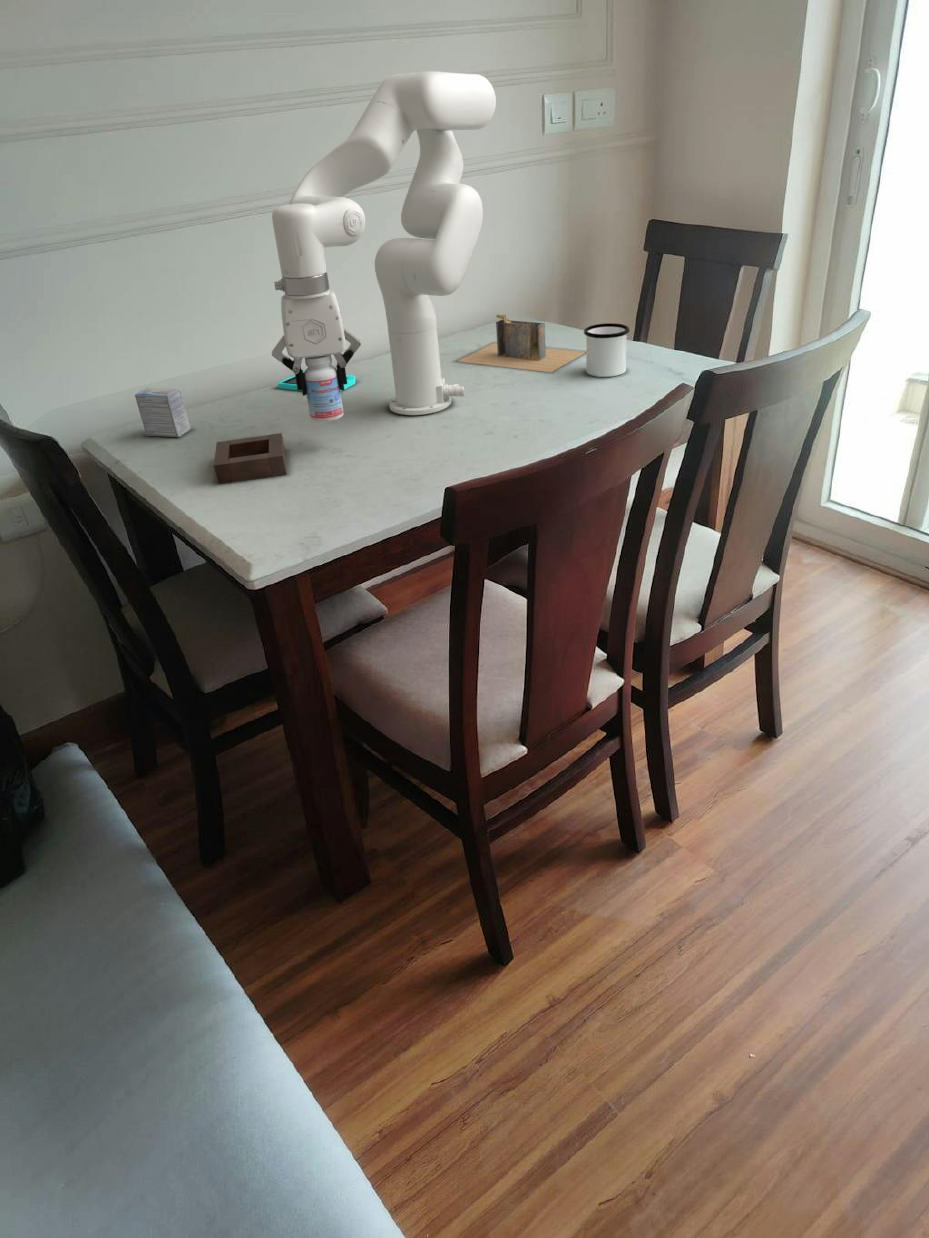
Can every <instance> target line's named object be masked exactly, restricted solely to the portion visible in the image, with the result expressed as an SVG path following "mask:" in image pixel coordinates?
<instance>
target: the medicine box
mask: <svg viewBox="0 0 929 1238" xmlns="http://www.w3.org/2000/svg"><path fill="white" fill-rule="evenodd" d="M134 398H135V400H136V404H137V405H136V406H137V408H138V411H139V415H140V418H141V422H142V425H143V429H144V432H145V435H146V436H147V437H165V438H166V437H167V438H180V437H183V436H184V435H185V434H187V433H188V432H189V431H191V429H192V427H191V425H190V421H189V417H188V414H187V410H186V407H185V403H184V399H183V396H182V391H181V389H180V388H179V387H177V388H176V387H175V388H173V387H146V388H144V389H142V390H139V392H136V394H134Z"/></svg>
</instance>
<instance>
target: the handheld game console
mask: <svg viewBox="0 0 929 1238" xmlns="http://www.w3.org/2000/svg"><path fill="white" fill-rule="evenodd" d="M304 372H305V370H303V375H304ZM346 378H347V384H344V391H345V390H346V389H349V388H350V387H353V386H354V385H355V384H356V382H357V381H356V376H355V375H353V374H346ZM277 386H278V389H282V390H291V391H300V392H302V390H298V388H297V383H296V377H295V374H294V375H292V376H289V377H287V378H285V379H283V380H281V381H278V382H277ZM340 392H341V393H342V392H343V391H342V390H340Z"/></svg>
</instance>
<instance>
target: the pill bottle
mask: <svg viewBox="0 0 929 1238" xmlns="http://www.w3.org/2000/svg"><path fill="white" fill-rule="evenodd" d="M304 363H305V366H306V367H307V368H306V369H305V370H304V371H305V372H304V382H305V388H306V394H307V395H306V399H307V405H308V412H309V417H310V419H311V420H312V421H313V422H317V423H329V422H335V421H337V420H339V419H341V418H342V417H343V416H344V408H343V407H344V406H343V401H342V391H341V392H340V385H339V378H338V372H337V367H335V366H334V365H332V363H333V358H332V355H325V356H317V357H309V358H304Z"/></svg>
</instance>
